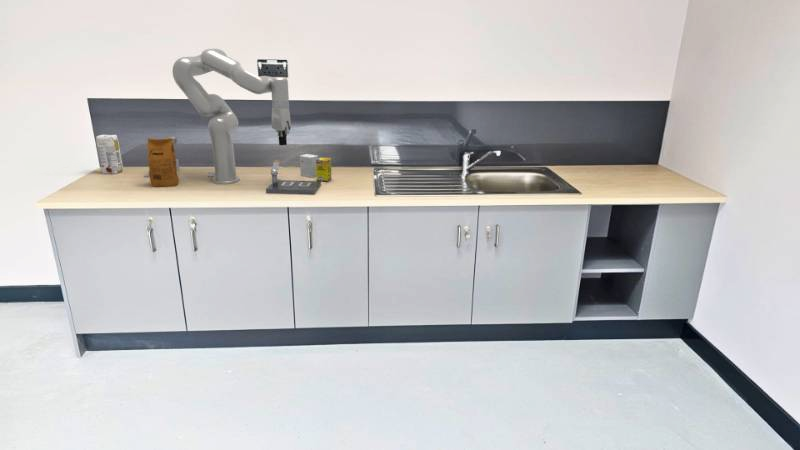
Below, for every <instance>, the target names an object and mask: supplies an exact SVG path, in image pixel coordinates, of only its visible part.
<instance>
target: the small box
mask: <svg viewBox="0 0 800 450" xmlns="http://www.w3.org/2000/svg"><path fill="white" fill-rule="evenodd" d="M317 159H319V155H317V154H316V155H315V154H309V153H305V154H301V155H299V165H300V166H299V168H300V176H302V177H306V178H312V179H313V178H315V177H316V178H317V174H316V160H317Z"/></svg>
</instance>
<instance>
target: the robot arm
mask: <svg viewBox="0 0 800 450" xmlns="http://www.w3.org/2000/svg"><path fill="white" fill-rule="evenodd" d="M171 71H172V77H173V80H174V82H175V84H176V86H178V87H179V89H180V90H181V91H182V92H183V94H184V95H185V96H186V97H187V99H188V100H189V102H190V103H191V104H192V105H193V106H194V108H195V110H196V112H198V113H199V114H200V115H201V116H203V117H211V116H212V117H211V119H210V120H209V122H208V125H207V128H208V132H209V136H210V139H211V140H210V141H211V148H212V155H213V156H212V157H213V163H214V164H213V167H214V171H213V172H212V171H208V172H206V173H207V177H208V178H212V182H213V183H214V184H219V185H228V184H229V185H230V184H234V183H238V182H240V181H241V179H240V178H241V177H240V176H237V172H236V161H235V158H236V157H235V150H234V148H235V147H234V142H233V138H232V133H234V132H235V131H237V129H238V128H239V119H238V118H237V115H236V114H235V113H234V112H233V111H232V109H231V108H230V106H229V104H227V103H226V101H225V100H224V98H222V97H221V96H220V95H219V94H214V93H208V92H207V91H206V89H205V88H204V87H203V85H202V84H201V83H200V82H199V81H198V80H197V79H196V78H195V77H196V76H197V77H198V76H202V75H205V74H207V73H208V74H209V73H210V72H215V73H217V74H219V75H221V76H223V77H225V78H227V79H229V80H231V81H232V82H233V83H235V84H236V85H237V86H238V87H240V88H243V89H244V90H246V91H248V92H251V93H253V94H255V95H263V94H268V93H271V103H272V104H271V106H272V108H271V128H272V129H273V130H275V132H276V133H277V137H278V145H279V146H287V145H288V144H287V137H288V135H289V134H290V130H291V128H292V124H291V123H292V120H291V113H290V112H291V111H290V98H289V97H290V96H289V95H290V94H289V81H288V78H287V77H284V76H274V77H273V76H268V75H259V76H257V75H255V74H253V73H250V72H249V71H247V70H245V69H244V68H243V67H242V66H241V63H240V62H239V61H238V60H235V59H233V58H231V57H229V56H228V55H227V54H226V52H225V51H224V50H222V49H219V48H207V49H205V50H203V51H202V52H201V54H198V55H195V56H182V57H180V58H178V59H176V60H175V62H174V64H173V66H172V70H171Z"/></svg>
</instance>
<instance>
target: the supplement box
mask: <svg viewBox="0 0 800 450" xmlns="http://www.w3.org/2000/svg"><path fill="white" fill-rule="evenodd" d="M316 174H317V176H316V181H321V183H329V182H330V181H331V180H332V158H331V157H318V159H317V160H316Z"/></svg>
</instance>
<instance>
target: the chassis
mask: <svg viewBox="0 0 800 450" xmlns="http://www.w3.org/2000/svg"><path fill="white" fill-rule="evenodd" d="M321 186H322V182H321V181H317V180H292V179H291V180H286V179H278V175H271V183H270V184H269V186H267V187H266V188H265V193H266V194H271V195H272V194H277V195H278V194H279V195H308V196H309V195H310V196H311V195H312V196H315V195H316V193H317V192H318V191H319V189H320V187H321Z"/></svg>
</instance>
